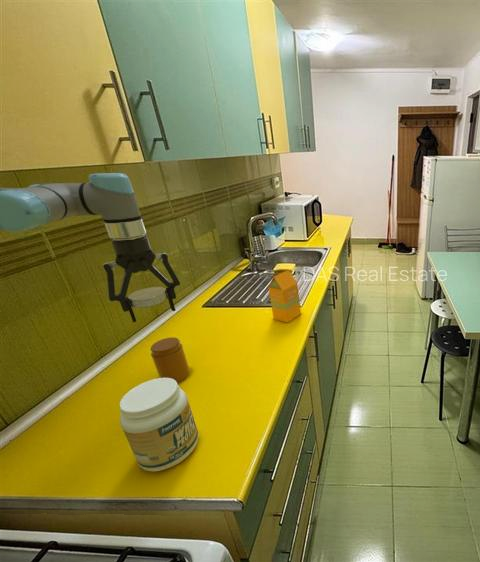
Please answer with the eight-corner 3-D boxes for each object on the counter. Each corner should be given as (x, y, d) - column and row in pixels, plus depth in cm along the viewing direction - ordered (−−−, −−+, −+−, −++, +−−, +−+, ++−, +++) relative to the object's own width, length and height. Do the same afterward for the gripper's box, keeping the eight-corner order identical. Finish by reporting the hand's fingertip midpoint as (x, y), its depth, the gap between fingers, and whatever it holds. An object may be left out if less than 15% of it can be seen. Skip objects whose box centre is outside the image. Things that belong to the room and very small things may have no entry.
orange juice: (301, 313, 132) (296, 270, 124) (287, 322, 125) (281, 277, 117) (287, 309, 135) (281, 267, 127) (273, 318, 128) (265, 274, 120)
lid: (132, 310, 79) (129, 302, 78) (129, 300, 85) (126, 292, 84) (170, 301, 84) (168, 293, 83) (165, 291, 90) (163, 284, 89)
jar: (154, 384, 92) (142, 351, 87) (172, 367, 99) (161, 336, 94) (179, 385, 91) (168, 352, 87) (195, 368, 99) (186, 336, 94)
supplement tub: (183, 473, 66) (161, 414, 59) (125, 476, 65) (97, 417, 59) (209, 426, 77) (192, 373, 71) (159, 429, 77) (138, 375, 70)
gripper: (173, 228, 87) (192, 299, 95) (72, 241, 74) (105, 322, 82) (179, 232, 82) (199, 307, 90) (72, 248, 68) (106, 333, 77)
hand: (154, 314), depth 86 cm, fingers closed on lid, 9 cm apart
